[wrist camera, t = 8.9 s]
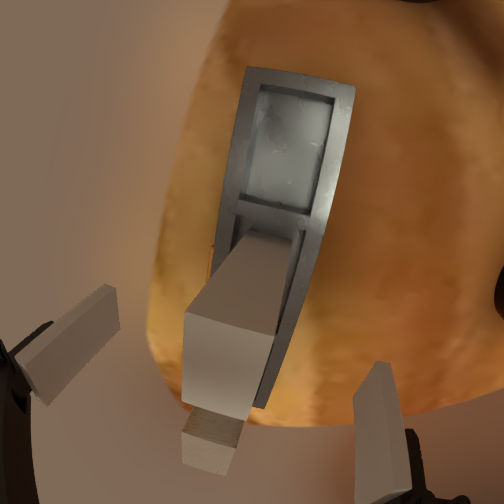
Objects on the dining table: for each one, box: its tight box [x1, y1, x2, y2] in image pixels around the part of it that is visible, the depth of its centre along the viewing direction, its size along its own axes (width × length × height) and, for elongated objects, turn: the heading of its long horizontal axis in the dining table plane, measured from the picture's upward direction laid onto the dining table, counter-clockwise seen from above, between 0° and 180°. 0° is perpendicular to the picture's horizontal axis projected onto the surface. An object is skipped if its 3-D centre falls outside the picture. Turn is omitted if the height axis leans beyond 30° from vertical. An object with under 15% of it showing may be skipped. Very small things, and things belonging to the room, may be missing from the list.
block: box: [182, 230, 292, 421], centre depth 16 cm, size 6×4×12 cm, turn 169°
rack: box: [182, 66, 356, 476], centre depth 17 cm, size 30×8×13 cm, turn 169°
